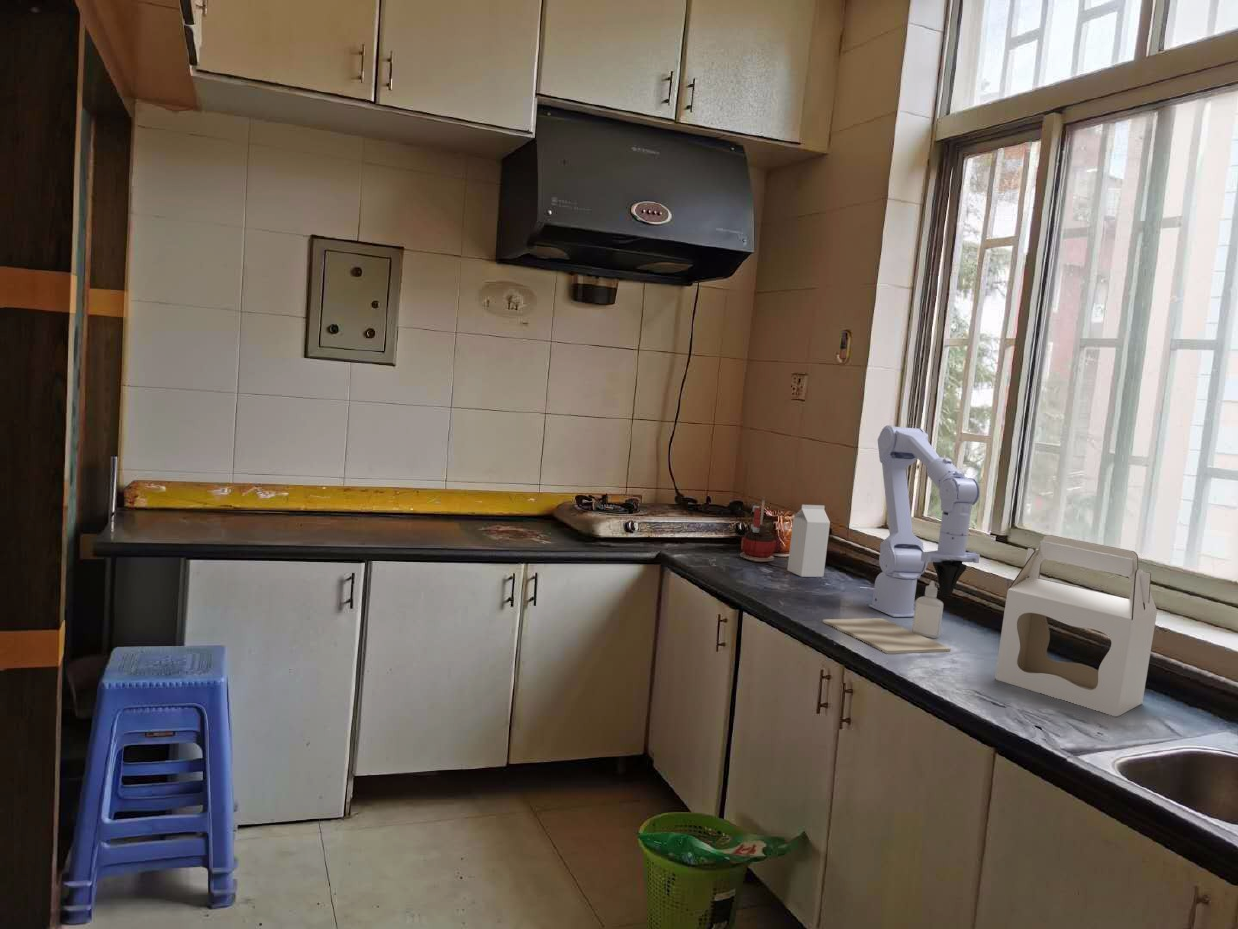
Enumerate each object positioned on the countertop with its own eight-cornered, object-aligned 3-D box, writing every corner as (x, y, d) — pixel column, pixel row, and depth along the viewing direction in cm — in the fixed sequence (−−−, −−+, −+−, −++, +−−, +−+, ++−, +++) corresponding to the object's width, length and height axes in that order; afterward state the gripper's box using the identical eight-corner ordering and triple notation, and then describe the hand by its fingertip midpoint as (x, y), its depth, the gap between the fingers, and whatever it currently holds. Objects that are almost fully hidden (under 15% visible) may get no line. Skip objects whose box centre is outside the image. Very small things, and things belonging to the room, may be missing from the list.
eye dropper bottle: (928, 639, 204) (936, 584, 203) (908, 632, 209) (915, 578, 208) (942, 638, 207) (950, 583, 205) (922, 630, 211) (929, 577, 210)
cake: (775, 565, 268) (783, 502, 267) (742, 562, 269) (749, 498, 267) (770, 557, 279) (777, 496, 277) (738, 554, 279) (745, 493, 277)
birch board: (822, 622, 210) (823, 619, 210) (881, 620, 217) (882, 618, 217) (887, 653, 190) (887, 651, 190) (950, 651, 197) (950, 648, 197)
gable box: (992, 679, 180) (1013, 532, 177) (1022, 668, 190) (1042, 529, 187) (1118, 718, 165) (1143, 558, 162) (1143, 704, 174) (1168, 553, 171)
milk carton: (823, 577, 258) (832, 507, 256) (800, 577, 256) (809, 507, 254) (809, 571, 265) (817, 503, 263) (786, 571, 262) (795, 502, 260)
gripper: (940, 536, 200) (931, 600, 202) (993, 537, 206) (984, 599, 208) (917, 529, 207) (909, 591, 208) (969, 531, 213) (961, 590, 214)
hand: (945, 594), depth 208 cm, fingers closed
